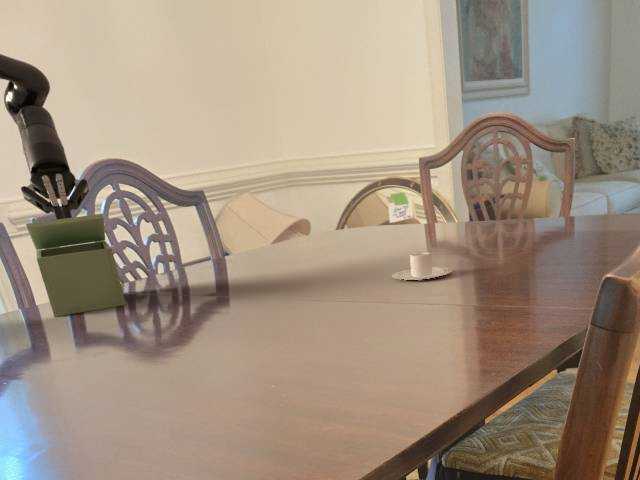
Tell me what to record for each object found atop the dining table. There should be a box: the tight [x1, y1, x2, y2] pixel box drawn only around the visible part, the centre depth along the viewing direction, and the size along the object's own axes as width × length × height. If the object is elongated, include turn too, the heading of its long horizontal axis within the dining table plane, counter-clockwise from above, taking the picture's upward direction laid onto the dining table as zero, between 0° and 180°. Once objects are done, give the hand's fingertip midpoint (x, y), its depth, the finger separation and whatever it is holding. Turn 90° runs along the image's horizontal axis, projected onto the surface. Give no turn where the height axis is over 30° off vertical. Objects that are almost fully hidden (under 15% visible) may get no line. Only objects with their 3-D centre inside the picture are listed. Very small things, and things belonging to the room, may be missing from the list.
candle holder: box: [391, 251, 453, 282], centre depth 151 cm, size 12×12×4 cm
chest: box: [36, 240, 127, 318], centre depth 157 cm, size 16×14×11 cm
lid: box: [25, 213, 106, 251], centre depth 153 cm, size 17×14×1 cm
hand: (66, 225), depth 150 cm, fingers closed
